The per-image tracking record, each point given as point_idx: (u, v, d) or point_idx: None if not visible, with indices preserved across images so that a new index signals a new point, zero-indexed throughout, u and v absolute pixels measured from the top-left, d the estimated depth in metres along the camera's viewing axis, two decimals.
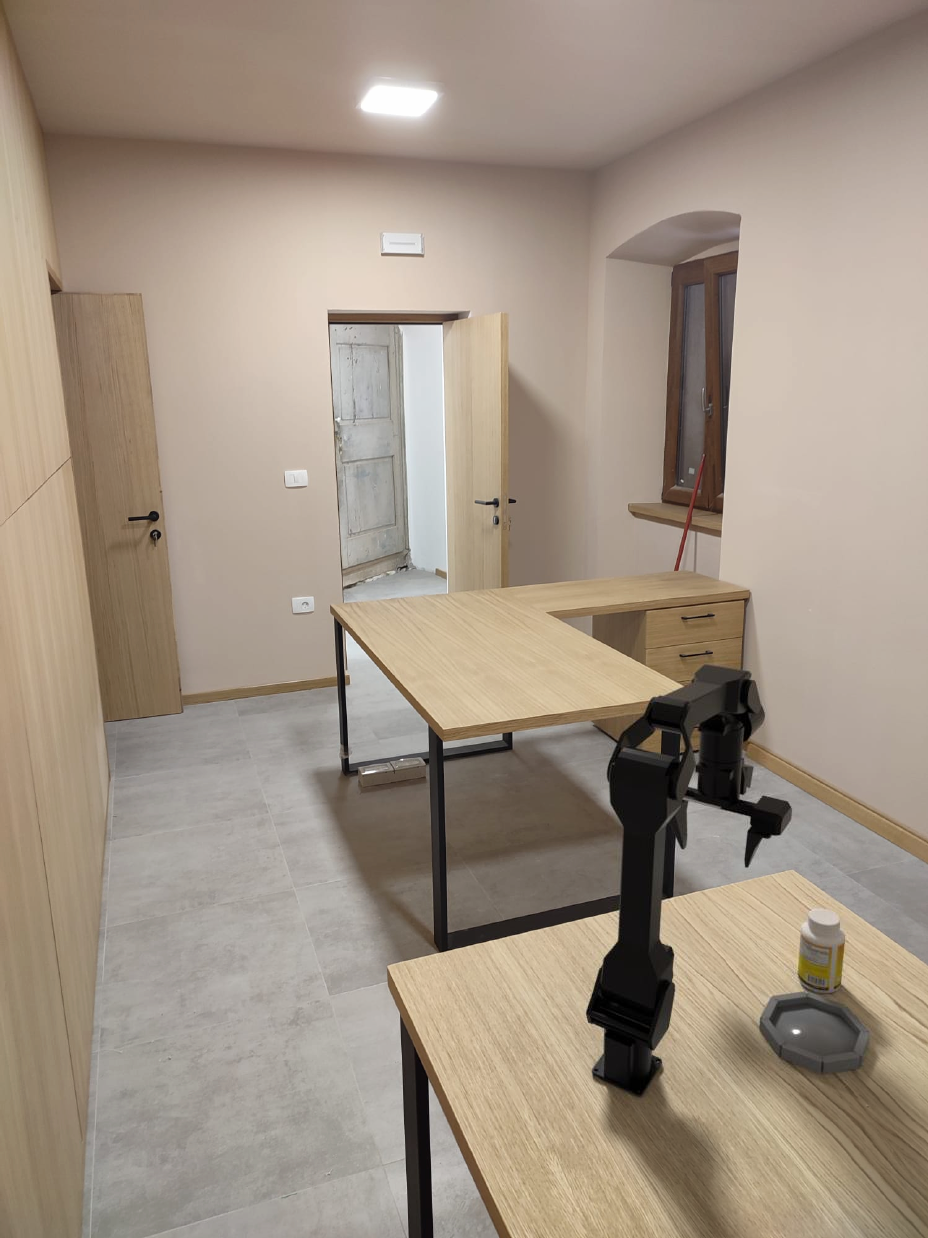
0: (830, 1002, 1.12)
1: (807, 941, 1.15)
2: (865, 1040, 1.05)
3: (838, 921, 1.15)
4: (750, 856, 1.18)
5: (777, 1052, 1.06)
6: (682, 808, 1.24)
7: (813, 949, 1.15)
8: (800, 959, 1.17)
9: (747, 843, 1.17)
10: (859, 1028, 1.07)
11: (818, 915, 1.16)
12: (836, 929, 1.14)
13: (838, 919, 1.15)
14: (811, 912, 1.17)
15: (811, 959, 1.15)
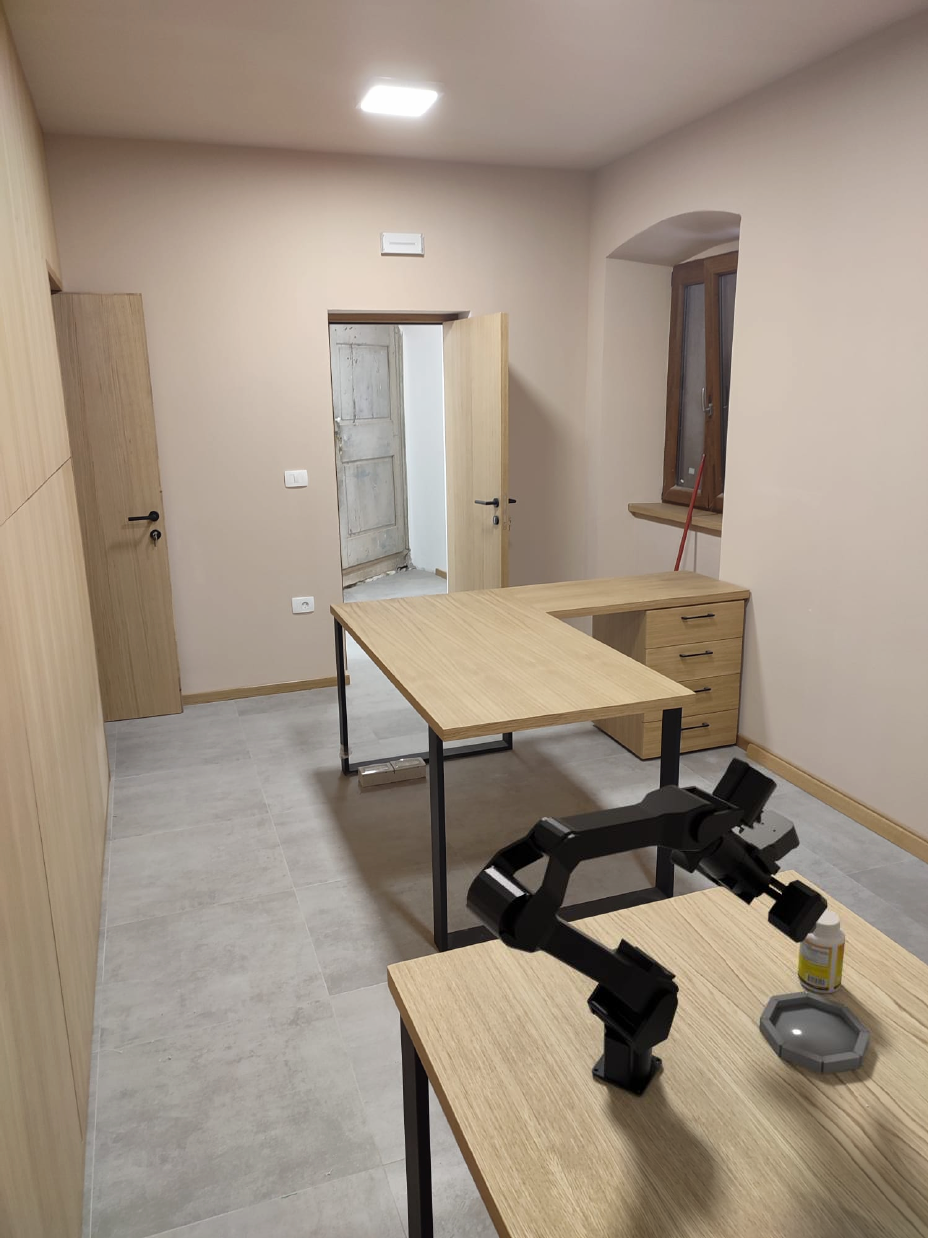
0: (830, 1002, 1.12)
1: (807, 941, 1.15)
2: (865, 1040, 1.05)
3: (838, 921, 1.15)
4: None
5: (777, 1052, 1.06)
6: None
7: (813, 949, 1.15)
8: (800, 959, 1.17)
9: None
10: (859, 1028, 1.07)
11: None
12: (836, 929, 1.14)
13: (838, 919, 1.15)
14: None
15: (811, 959, 1.15)
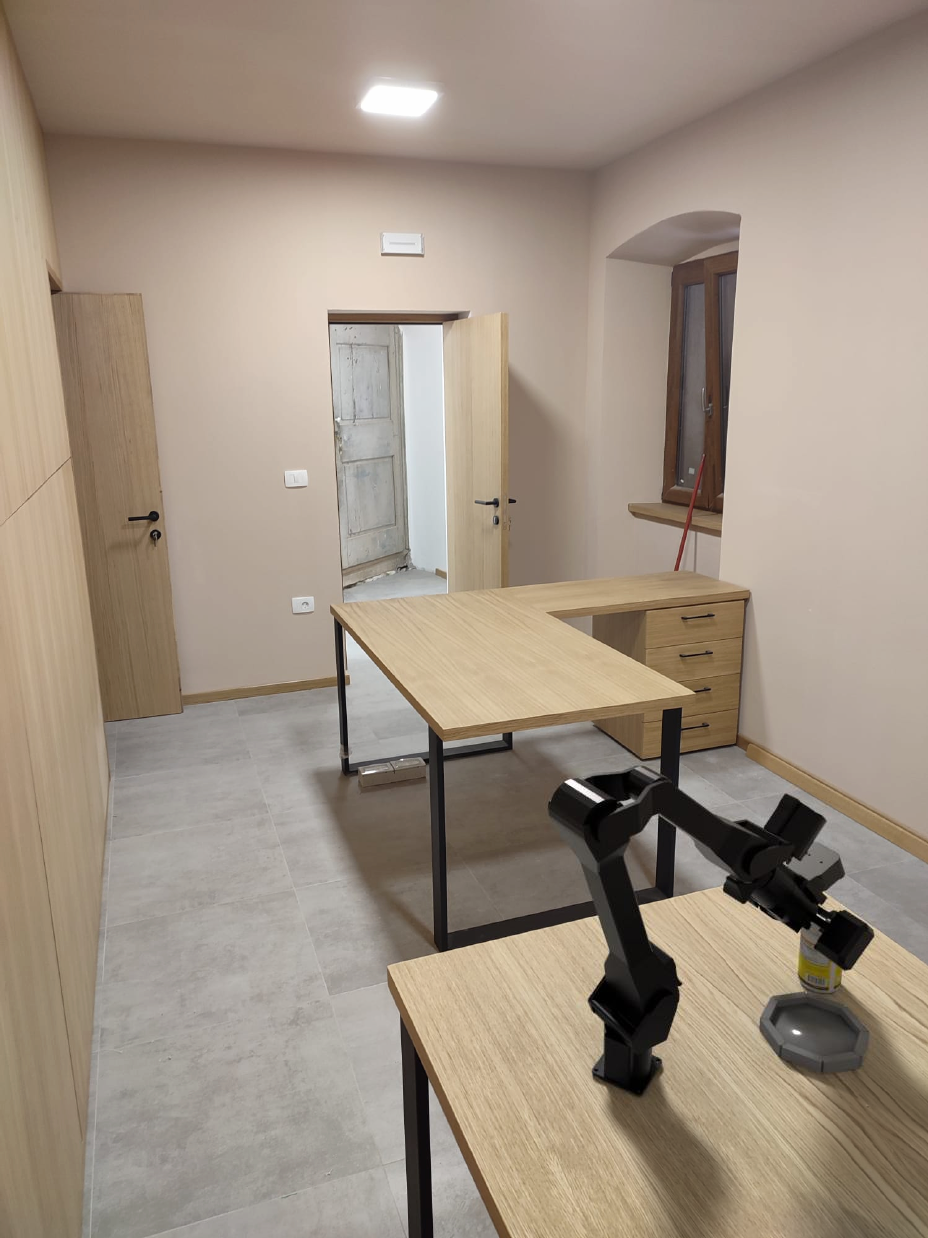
0: (830, 1002, 1.12)
1: (807, 941, 1.15)
2: (865, 1040, 1.05)
3: None
4: None
5: (777, 1052, 1.06)
6: None
7: (813, 949, 1.15)
8: (800, 959, 1.17)
9: None
10: (859, 1028, 1.07)
11: (818, 915, 1.16)
12: None
13: None
14: None
15: (811, 959, 1.15)
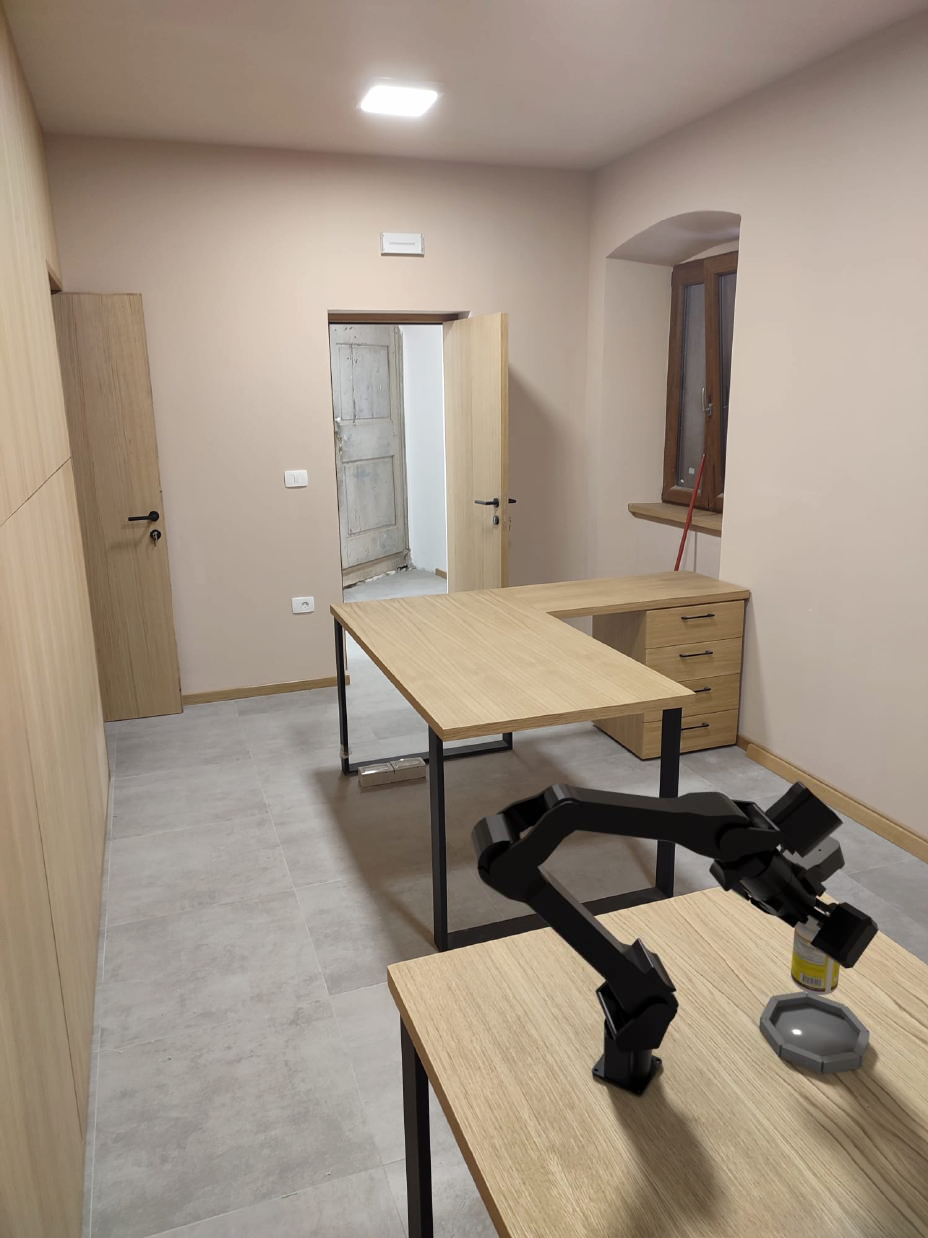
0: (830, 1002, 1.12)
1: (802, 938, 1.06)
2: (865, 1040, 1.05)
3: None
4: None
5: (777, 1052, 1.06)
6: None
7: (809, 946, 1.05)
8: (794, 958, 1.08)
9: None
10: (859, 1028, 1.07)
11: None
12: None
13: None
14: None
15: (807, 957, 1.06)
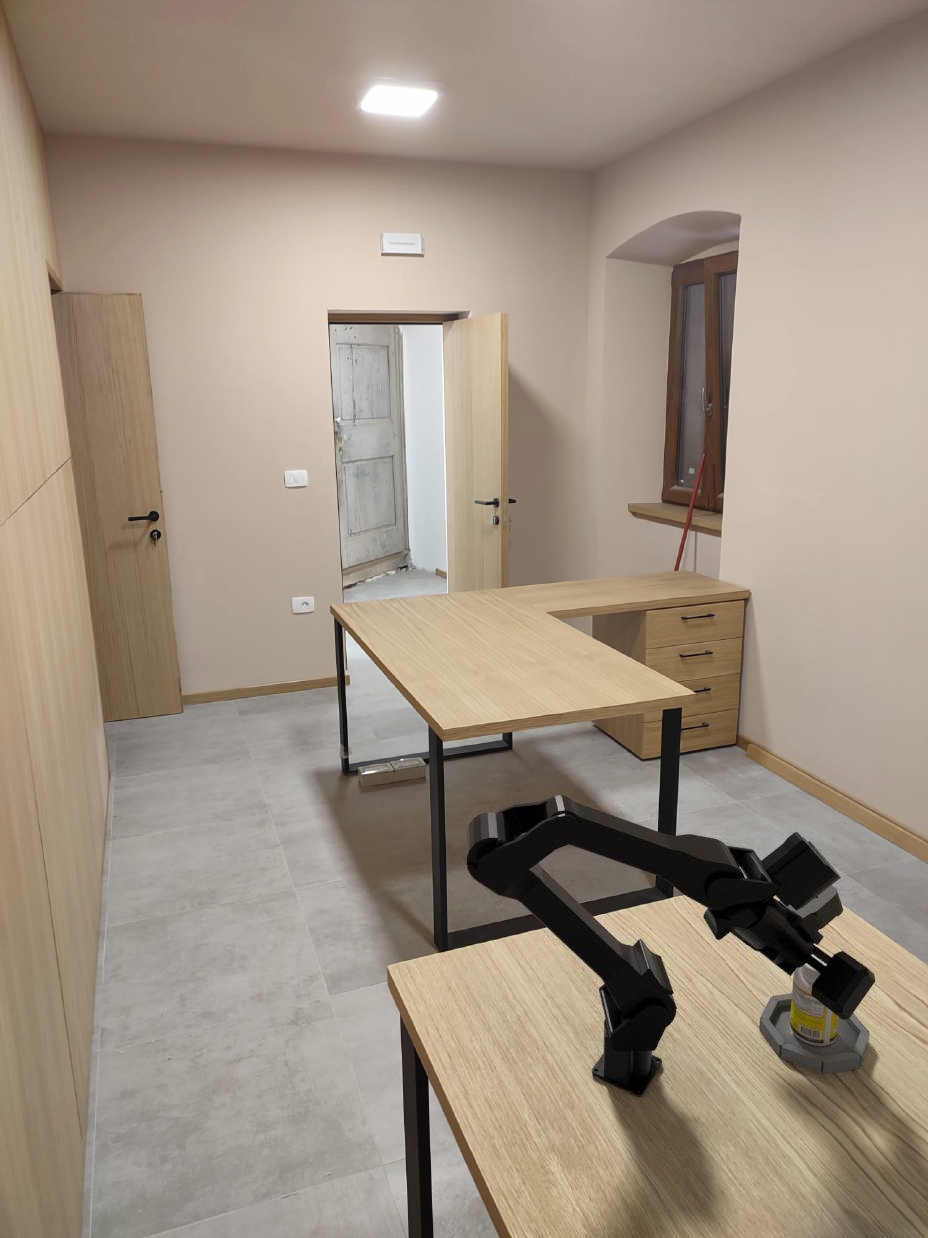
0: None
1: (800, 989, 1.05)
2: (865, 1040, 1.05)
3: None
4: None
5: (777, 1052, 1.06)
6: None
7: (807, 998, 1.05)
8: (793, 1008, 1.07)
9: None
10: (859, 1028, 1.07)
11: None
12: None
13: None
14: None
15: (805, 1009, 1.05)
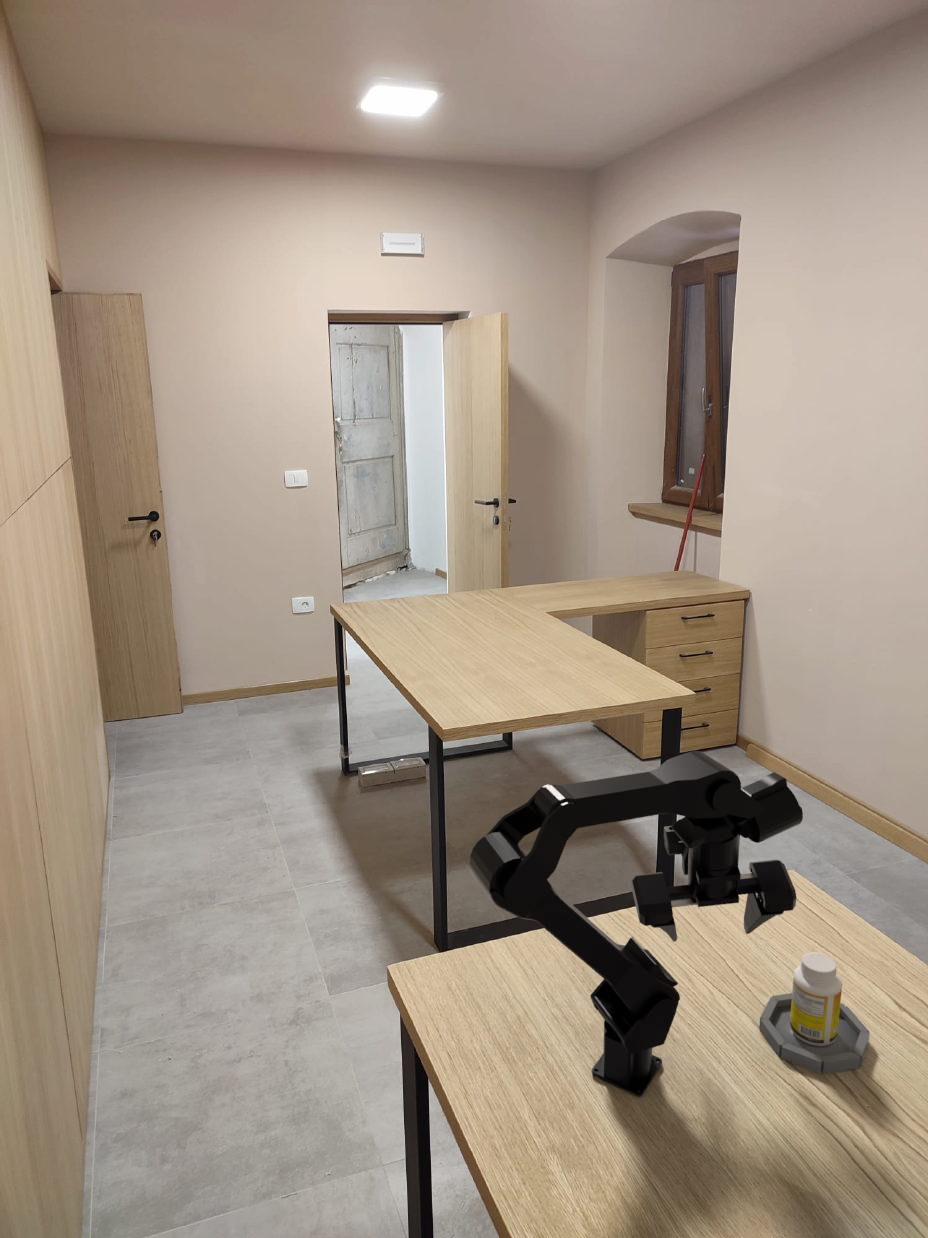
0: None
1: (800, 989, 1.05)
2: (865, 1040, 1.05)
3: (834, 967, 1.05)
4: (756, 927, 1.07)
5: (777, 1052, 1.06)
6: None
7: (807, 998, 1.05)
8: (793, 1008, 1.07)
9: (757, 921, 1.05)
10: (859, 1028, 1.07)
11: (812, 960, 1.06)
12: (832, 976, 1.04)
13: (834, 965, 1.05)
14: (805, 957, 1.07)
15: (805, 1009, 1.05)
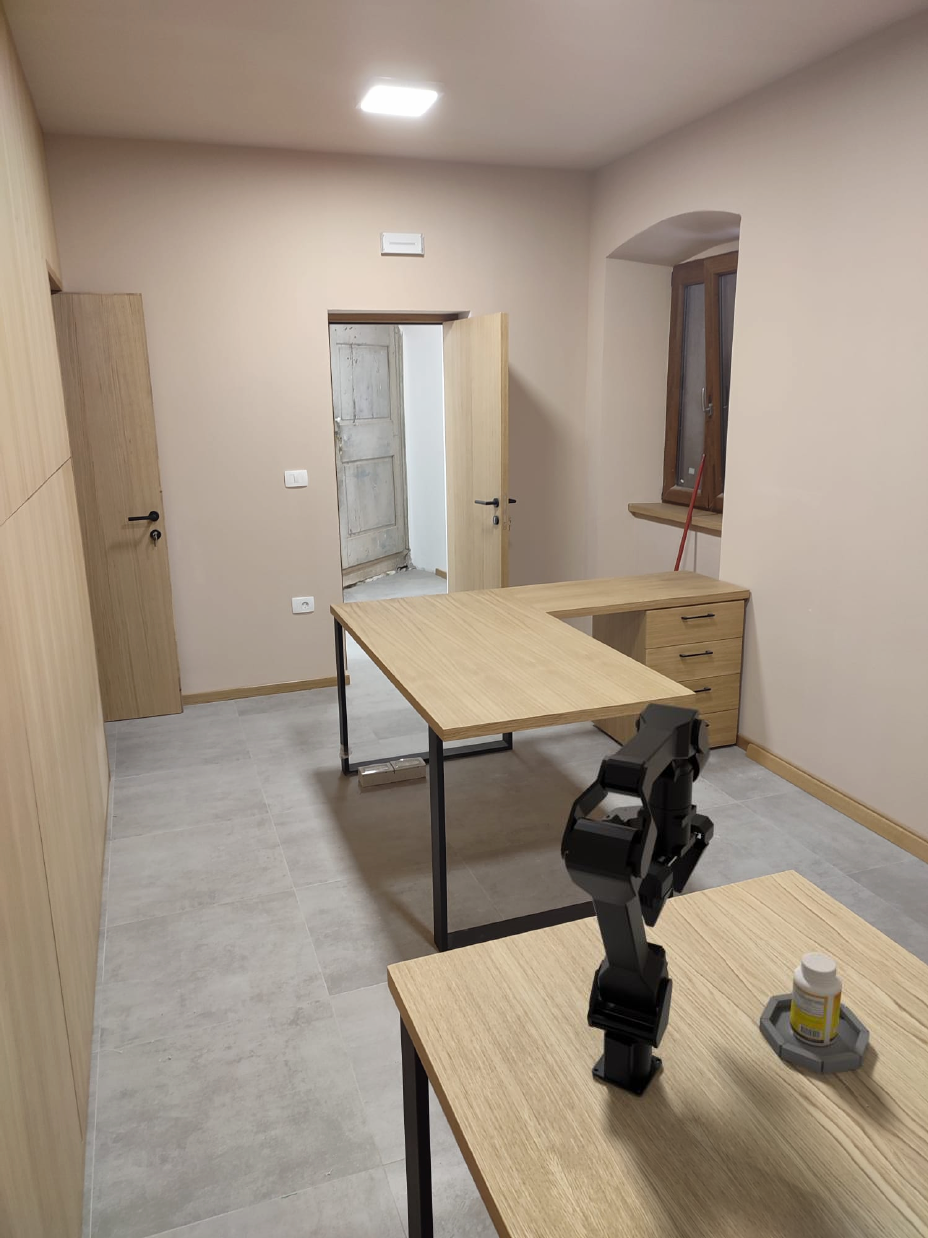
0: None
1: (800, 989, 1.05)
2: (865, 1040, 1.05)
3: (834, 967, 1.05)
4: (690, 876, 1.16)
5: (777, 1052, 1.06)
6: None
7: (807, 998, 1.05)
8: (793, 1008, 1.07)
9: (696, 864, 1.15)
10: (859, 1028, 1.07)
11: (812, 960, 1.06)
12: (832, 976, 1.04)
13: (834, 965, 1.05)
14: (805, 957, 1.07)
15: (805, 1009, 1.05)
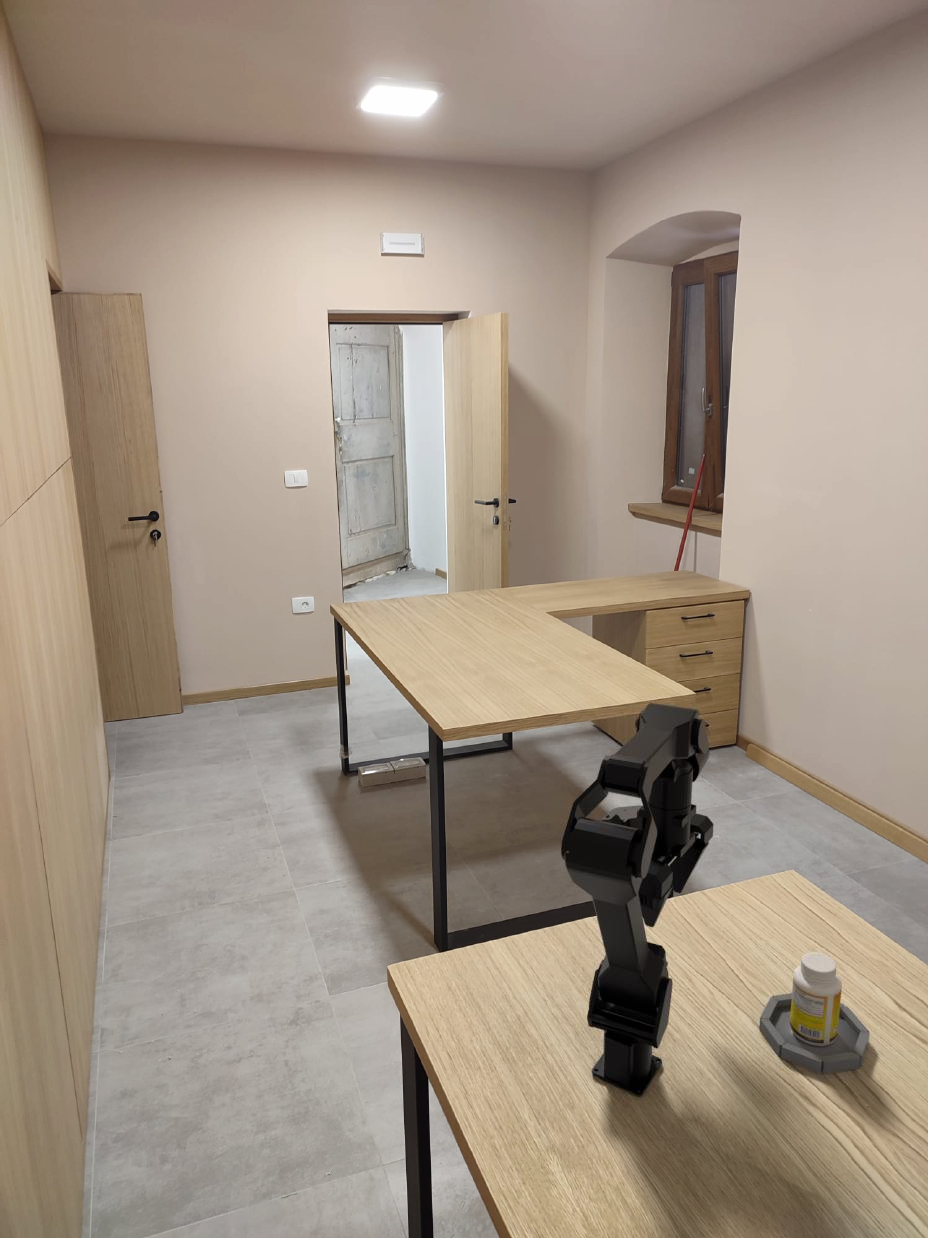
0: None
1: (800, 989, 1.05)
2: (865, 1040, 1.05)
3: (834, 967, 1.05)
4: (689, 876, 1.16)
5: (777, 1052, 1.06)
6: None
7: (807, 998, 1.05)
8: (793, 1008, 1.07)
9: (696, 864, 1.15)
10: (859, 1028, 1.07)
11: (812, 960, 1.06)
12: (832, 976, 1.04)
13: (834, 965, 1.05)
14: (804, 957, 1.07)
15: (805, 1009, 1.05)
